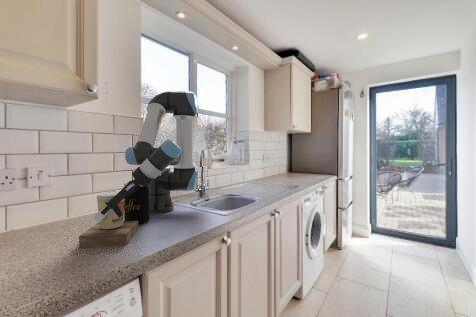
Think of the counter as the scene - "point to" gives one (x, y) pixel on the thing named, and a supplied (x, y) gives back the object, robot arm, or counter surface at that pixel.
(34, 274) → the counter surface
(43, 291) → the counter surface
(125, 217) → the coffee jar
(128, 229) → the walnut riser
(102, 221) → the coffee cup
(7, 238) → the counter surface
